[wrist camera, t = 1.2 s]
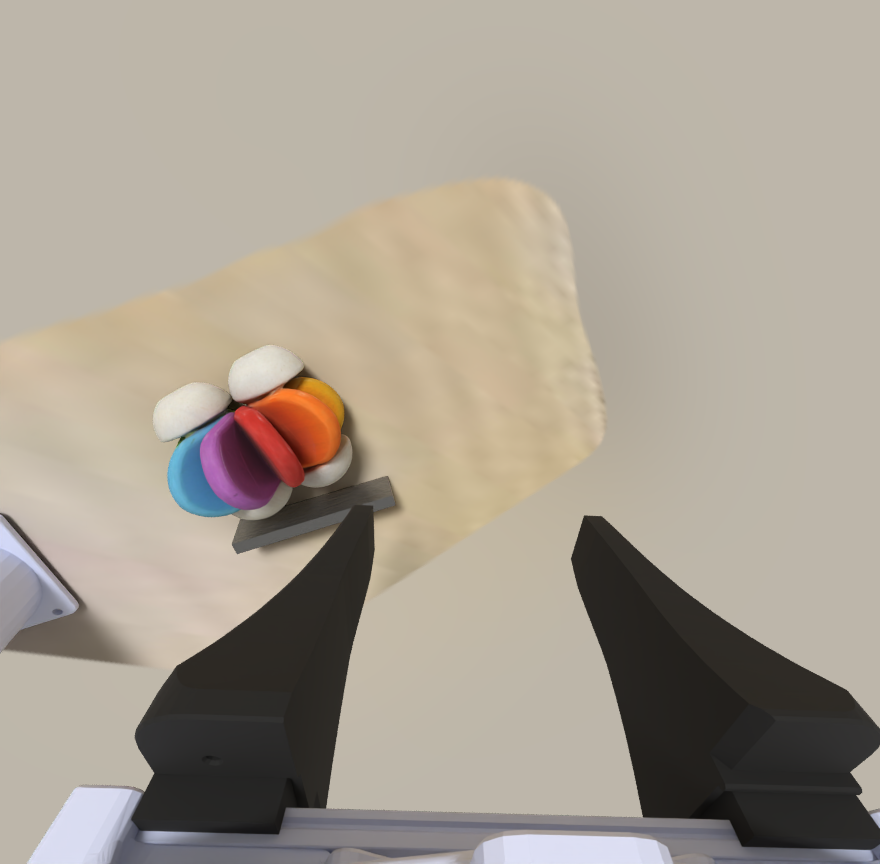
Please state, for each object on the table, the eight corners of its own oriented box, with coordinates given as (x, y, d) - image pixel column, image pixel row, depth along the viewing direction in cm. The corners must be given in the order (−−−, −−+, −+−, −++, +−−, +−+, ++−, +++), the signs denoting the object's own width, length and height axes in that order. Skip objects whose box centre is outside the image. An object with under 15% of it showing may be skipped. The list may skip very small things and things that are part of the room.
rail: (245, 528, 26) (237, 554, 24) (240, 519, 26) (231, 544, 24) (390, 485, 28) (395, 505, 25) (387, 475, 27) (392, 495, 25)
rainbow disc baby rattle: (371, 441, 26) (384, 501, 20) (239, 509, 26) (208, 593, 19) (300, 323, 22) (287, 351, 16) (142, 402, 22) (63, 463, 15)
